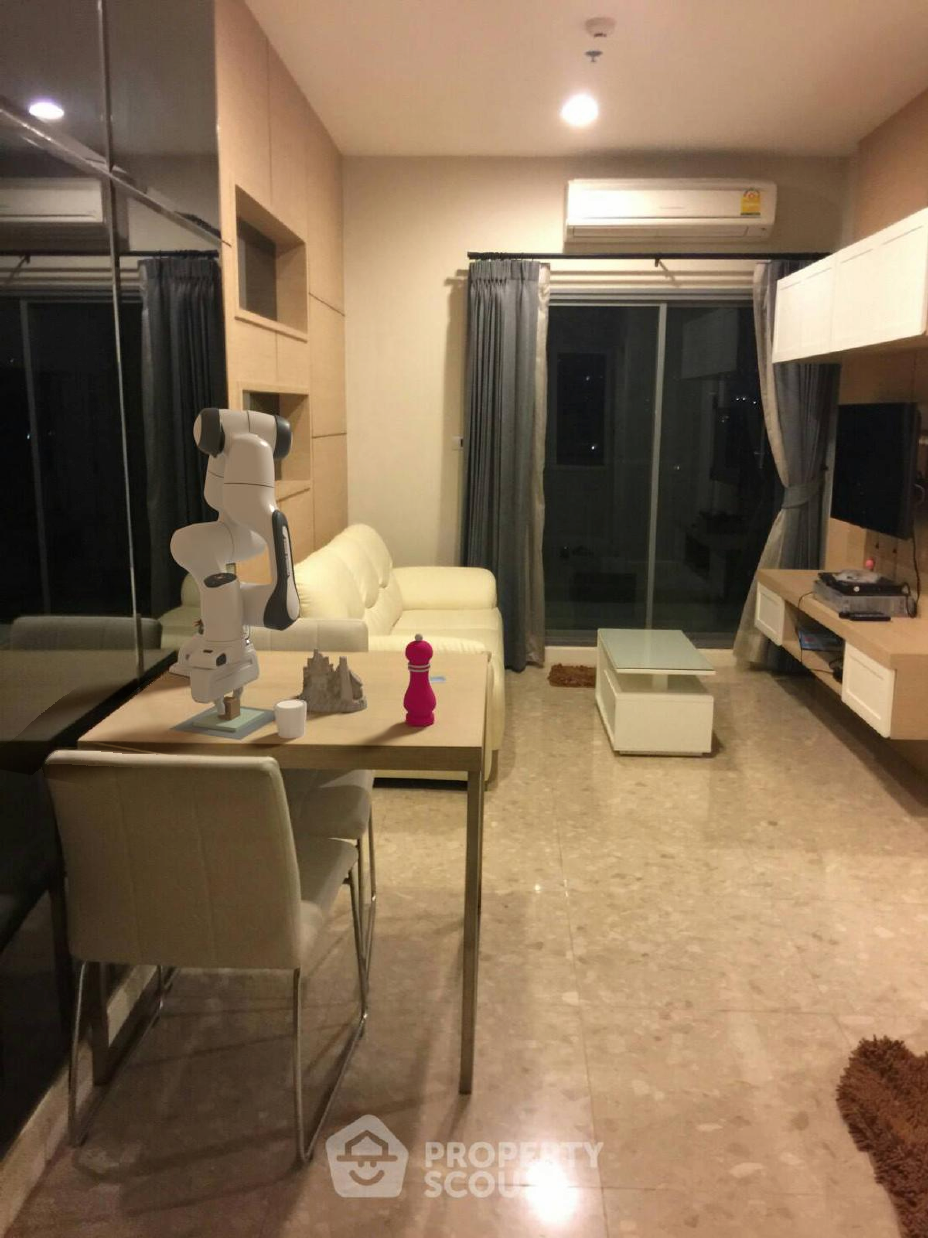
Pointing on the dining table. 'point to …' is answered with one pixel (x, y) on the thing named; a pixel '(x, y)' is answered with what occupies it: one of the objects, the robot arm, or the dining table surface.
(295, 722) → the white cup
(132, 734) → the dining table surface
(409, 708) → the pepper mill
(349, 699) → the ceramic cottage
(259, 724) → the mat
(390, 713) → the dining table surface
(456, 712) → the dining table surface
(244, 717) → the lid
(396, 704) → the dining table surface
